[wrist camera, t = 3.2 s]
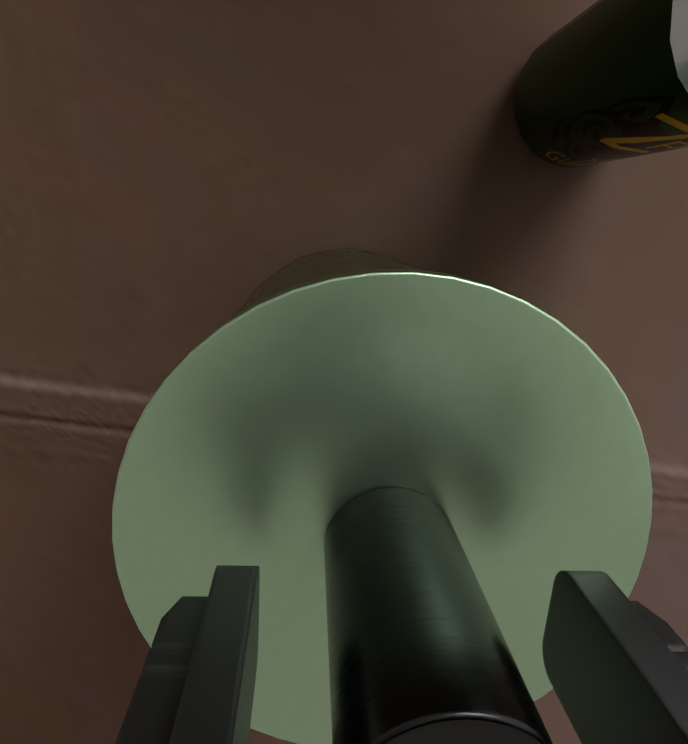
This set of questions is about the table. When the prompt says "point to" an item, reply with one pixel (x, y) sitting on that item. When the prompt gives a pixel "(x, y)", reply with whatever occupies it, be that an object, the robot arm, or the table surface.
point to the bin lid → (386, 500)
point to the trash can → (323, 269)
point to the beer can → (608, 84)
